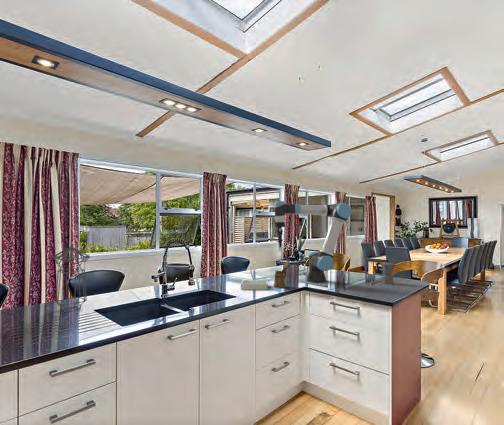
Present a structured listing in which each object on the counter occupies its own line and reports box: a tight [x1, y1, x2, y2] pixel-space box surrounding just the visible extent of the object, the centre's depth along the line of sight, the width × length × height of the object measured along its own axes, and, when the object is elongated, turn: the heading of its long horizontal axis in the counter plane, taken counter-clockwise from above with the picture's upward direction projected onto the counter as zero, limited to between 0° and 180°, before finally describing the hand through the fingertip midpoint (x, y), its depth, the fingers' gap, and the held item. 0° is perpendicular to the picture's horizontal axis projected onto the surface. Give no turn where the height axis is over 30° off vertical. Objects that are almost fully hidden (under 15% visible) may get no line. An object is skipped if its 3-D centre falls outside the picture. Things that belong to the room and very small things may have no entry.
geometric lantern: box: [50, 246, 91, 312], centre depth 179 cm, size 16×16×35 cm
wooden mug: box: [273, 260, 291, 289], centre depth 237 cm, size 9×14×18 cm, turn 124°
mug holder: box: [240, 279, 269, 291], centre depth 234 cm, size 19×14×4 cm
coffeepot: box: [375, 259, 397, 285], centre depth 247 cm, size 15×9×18 cm, turn 44°
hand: (280, 250), depth 238 cm, fingers open, 13 cm apart
